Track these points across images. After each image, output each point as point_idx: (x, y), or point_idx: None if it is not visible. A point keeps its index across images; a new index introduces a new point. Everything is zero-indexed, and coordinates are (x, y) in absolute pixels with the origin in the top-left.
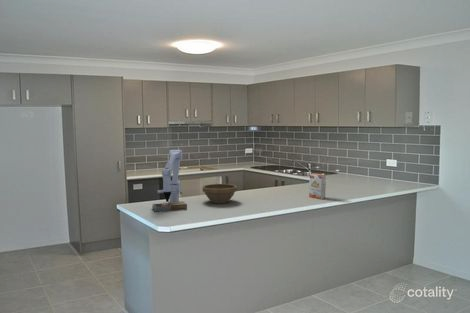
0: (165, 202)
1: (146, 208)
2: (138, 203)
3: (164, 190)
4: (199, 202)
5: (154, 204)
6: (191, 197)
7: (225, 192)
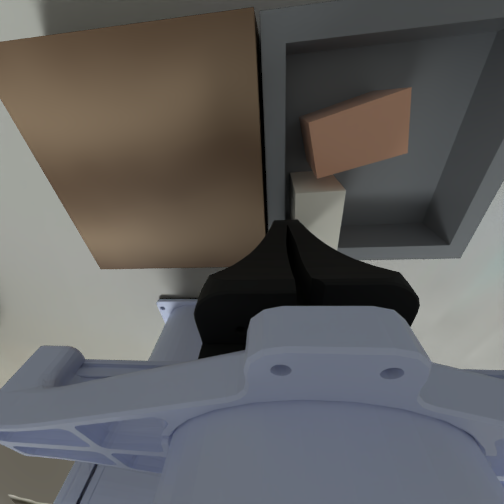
0: None
1: (475, 251)
2: None
3: (481, 448)
4: (25, 303)
5: (440, 243)
6: None
7: None
